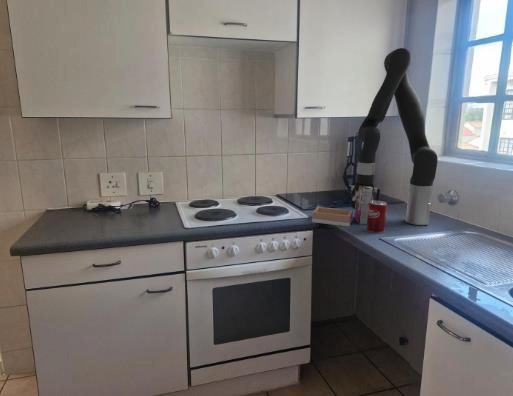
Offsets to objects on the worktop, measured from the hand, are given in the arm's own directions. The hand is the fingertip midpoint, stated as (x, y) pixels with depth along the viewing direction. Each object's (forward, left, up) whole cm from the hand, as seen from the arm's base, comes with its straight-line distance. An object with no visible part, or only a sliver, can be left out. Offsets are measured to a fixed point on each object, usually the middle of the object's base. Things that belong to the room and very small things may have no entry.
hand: (362, 209), depth 170 cm
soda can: (-7, +12, -6) cm, 15 cm away
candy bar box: (0, 0, -6) cm, 6 cm away
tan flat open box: (+12, +6, -5) cm, 14 cm away
